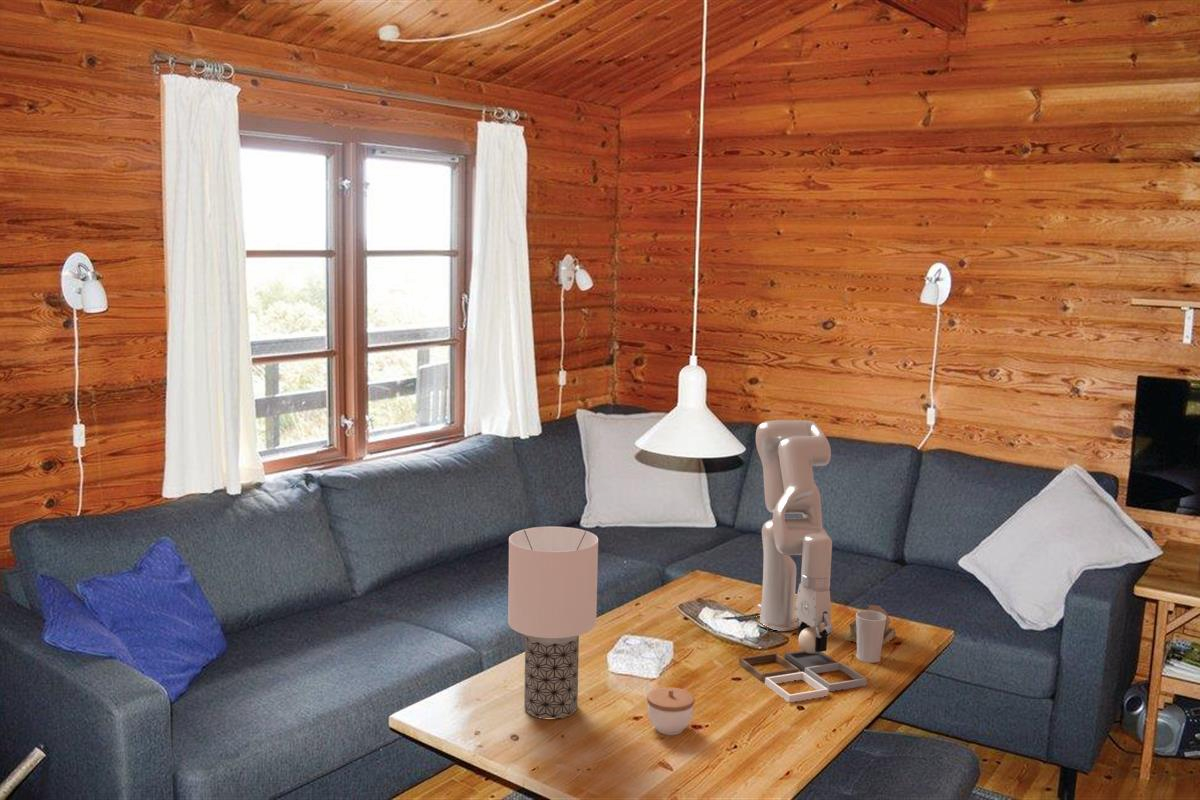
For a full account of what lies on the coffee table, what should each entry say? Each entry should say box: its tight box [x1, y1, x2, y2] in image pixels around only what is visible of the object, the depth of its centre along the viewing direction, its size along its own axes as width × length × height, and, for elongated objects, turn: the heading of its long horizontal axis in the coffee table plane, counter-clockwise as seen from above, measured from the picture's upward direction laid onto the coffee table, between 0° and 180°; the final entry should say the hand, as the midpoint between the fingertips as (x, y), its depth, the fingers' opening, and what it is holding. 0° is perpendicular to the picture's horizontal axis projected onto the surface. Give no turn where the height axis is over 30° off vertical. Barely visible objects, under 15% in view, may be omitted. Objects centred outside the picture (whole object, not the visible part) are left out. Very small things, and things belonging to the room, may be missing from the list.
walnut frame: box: [738, 652, 800, 682], centre depth 272 cm, size 11×11×2 cm
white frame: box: [764, 671, 829, 704], centre depth 260 cm, size 11×11×2 cm
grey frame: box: [804, 661, 868, 692], centre depth 267 cm, size 11×11×2 cm
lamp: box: [507, 526, 599, 719], centre depth 244 cm, size 21×21×42 cm
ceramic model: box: [845, 603, 897, 646], centre depth 295 cm, size 14×11×10 cm
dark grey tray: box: [783, 650, 839, 672], centre depth 277 cm, size 10×10×2 cm
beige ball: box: [797, 626, 818, 654], centre depth 276 cm, size 7×7×7 cm
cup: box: [855, 609, 886, 664], centre depth 280 cm, size 8×8×12 cm
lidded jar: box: [646, 686, 695, 736], centre depth 237 cm, size 11×11×9 cm
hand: (812, 645), depth 276 cm, fingers closed on beige ball, 7 cm apart
